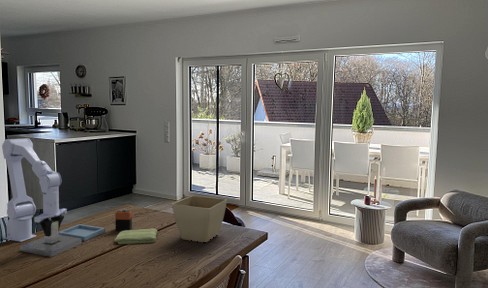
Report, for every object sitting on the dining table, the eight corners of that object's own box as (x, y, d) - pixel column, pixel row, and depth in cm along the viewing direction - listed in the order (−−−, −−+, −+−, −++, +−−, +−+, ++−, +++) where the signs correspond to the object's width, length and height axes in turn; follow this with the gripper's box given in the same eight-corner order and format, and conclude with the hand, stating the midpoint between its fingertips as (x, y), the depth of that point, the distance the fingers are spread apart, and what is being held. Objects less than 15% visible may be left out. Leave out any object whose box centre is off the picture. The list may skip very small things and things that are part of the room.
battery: (129, 231, 175) (129, 210, 174) (115, 231, 175) (115, 210, 174) (132, 228, 180) (132, 208, 179) (118, 228, 179) (118, 208, 179)
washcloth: (118, 235, 171) (118, 228, 170) (157, 234, 174) (157, 227, 173) (113, 245, 158) (113, 238, 157) (156, 244, 161) (156, 236, 160)
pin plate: (20, 250, 148) (20, 246, 148) (52, 238, 163) (52, 233, 163) (51, 256, 143) (51, 251, 143) (81, 243, 158) (81, 238, 158)
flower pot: (170, 240, 165) (170, 203, 163) (192, 228, 182) (192, 194, 181) (208, 247, 158) (209, 208, 156) (227, 234, 175) (227, 199, 174)
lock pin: (44, 243, 152) (44, 222, 151) (52, 240, 155) (51, 219, 155) (51, 244, 151) (51, 223, 150) (58, 241, 154) (58, 220, 153)
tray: (58, 236, 166) (58, 232, 165) (79, 228, 178) (79, 224, 178) (85, 241, 161) (84, 236, 161) (105, 232, 173) (105, 228, 173)
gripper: (43, 207, 143) (44, 241, 145) (72, 199, 157) (72, 230, 158) (30, 205, 146) (30, 239, 147) (59, 197, 159) (59, 228, 161)
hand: (51, 234), depth 153 cm, fingers closed on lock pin, 4 cm apart
